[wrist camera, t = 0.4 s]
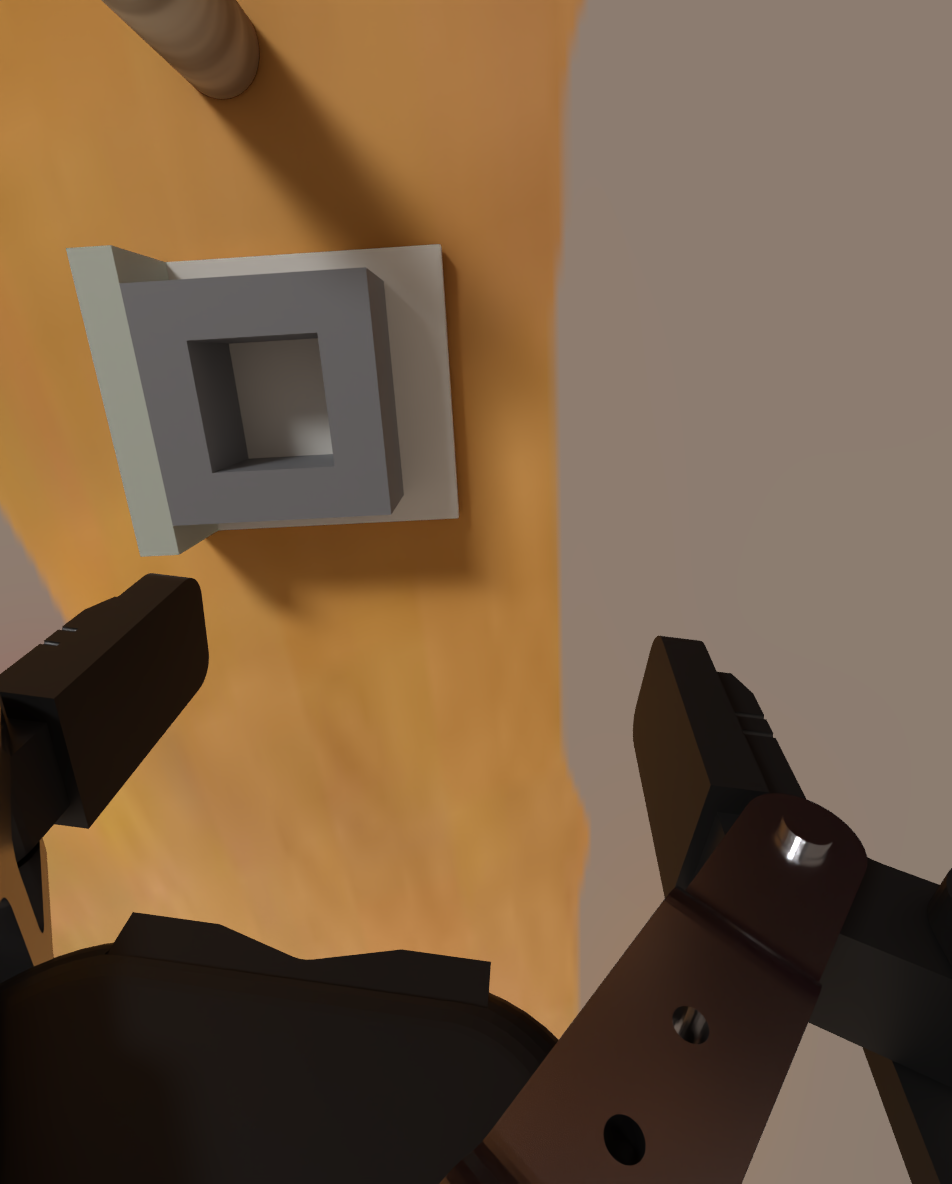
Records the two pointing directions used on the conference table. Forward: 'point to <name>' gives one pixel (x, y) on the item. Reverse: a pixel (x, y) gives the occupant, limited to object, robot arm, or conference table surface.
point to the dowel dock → (272, 388)
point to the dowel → (198, 40)
